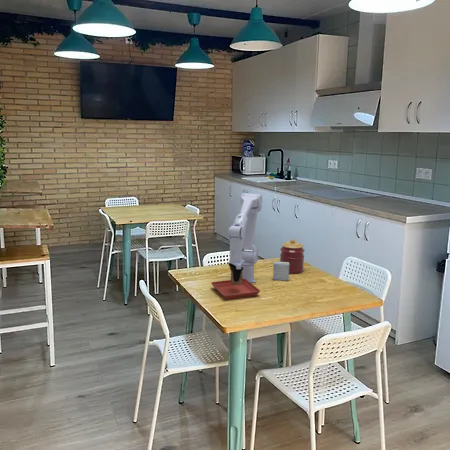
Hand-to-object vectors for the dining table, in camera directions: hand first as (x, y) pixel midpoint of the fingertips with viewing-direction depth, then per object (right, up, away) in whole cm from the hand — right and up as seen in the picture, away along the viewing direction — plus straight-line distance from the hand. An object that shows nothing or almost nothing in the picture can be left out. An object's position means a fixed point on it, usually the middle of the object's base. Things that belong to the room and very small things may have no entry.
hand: (235, 279), depth 210 cm
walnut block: (0, -2, 0) cm, 2 cm away
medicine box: (+24, -3, +21) cm, 32 cm away
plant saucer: (0, -7, +1) cm, 7 cm away
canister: (+31, 0, +36) cm, 48 cm away
